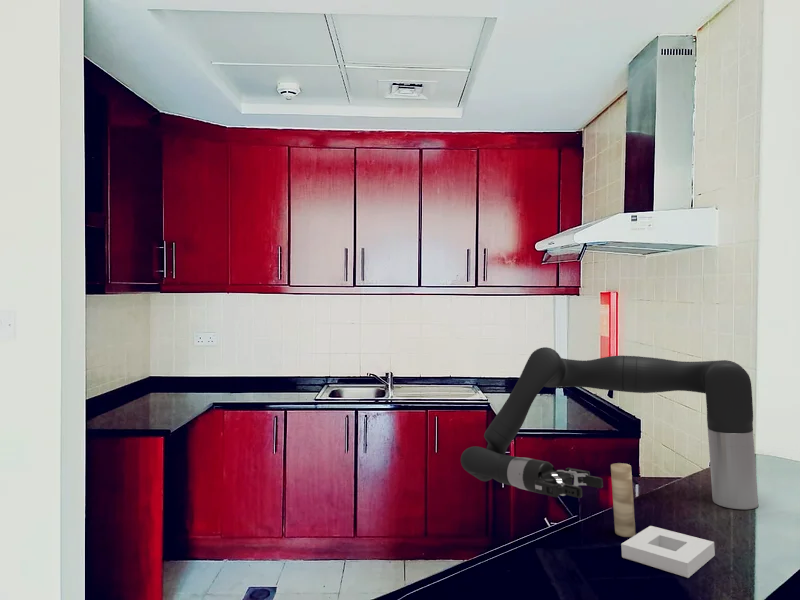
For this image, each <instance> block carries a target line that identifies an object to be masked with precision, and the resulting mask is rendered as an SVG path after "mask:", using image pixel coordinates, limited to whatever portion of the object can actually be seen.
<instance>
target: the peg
mask: <svg viewBox="0 0 800 600" xmlns="http://www.w3.org/2000/svg"><path fill="white" fill-rule="evenodd" d="M610 473H611V474H610V475H611V488H612V489H611V491H612V504H613V505H612V506H613V520H614V521H613V524H614V533H615V535H617V536H620V537H623V538H631V537H633V536H635V535H636V534H637V532H636V522H635V521H636V520H635V503H634V490H633V475H632V465H630V463H629V464H628V463H624V462H623V463H622V462H617V463H611V464H610Z"/></svg>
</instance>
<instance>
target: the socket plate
mask: <svg viewBox="0 0 800 600" xmlns="http://www.w3.org/2000/svg"><path fill="white" fill-rule="evenodd" d="M620 546H621V547H620V548H621V558H623V559H626V560H629V561H633V562H635V563H639V564H642V565H646V566H648V567H653V568H655V569H659V570H661V571H665V572H668V573H671V574H675V575H678V576H681V577H684V578H687V579H689V578H690V577H691V576H693V574H695V573H696V572H698V570H700V568H702V567H703V566H704V565H705V564H707V562H709V561H710V560H712V559H713V558H714V557H715V556H716V553H715V541H712V540H708V539H704V538H701V537H700V538H699V537H696V536H692V535H688V534H685V533H680V532H676V531H673V530H669V529H666V528H661V527H657V526H653V525H649V526H648V527H646V528H644V529H642V530H641V531H639V532H638V533H636V534H635V536H632V537H629V539H628V538H627V540H625V541H624V542H622V543H621V544H620Z"/></svg>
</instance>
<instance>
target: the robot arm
mask: <svg viewBox="0 0 800 600" xmlns="http://www.w3.org/2000/svg"><path fill="white" fill-rule="evenodd" d="M544 387H545V388H590V389H597V390H606V391H615V392H624V393H637V394H654V393H655V394H656V393H664V392H674V391H675V392H678V391H679V392H680V391H681V392H690V393H691V392H692V393H693V392H694V393H701V394H705V402H706V404H705V405H706V424H707V426H706V427H707V436H708V450H709V451H708V452H709V463H710V464H709V465H710V479H711V480H710V481H711V494H712V496H711V497H712V502H713V503H714V504H716V505H718V506H720V507H724V508H728V509H734V510H753V509H756V508H758V507H759V496H758V495H759V494H758V480H757V469H756V468H757V465H756V464H757V463H756V453H755V442H754V441H755V439H754V408H753V407H754V406H753V403H754V402H753V389H752V388H753V386H752V380H751V377H750V374H749V373H748V372H747V371H746V370H745V369H744V367H742V366H741V365H740V364H739V363H736V362H735V361H731V360H728V359H727V360H725V359H724V360H723V359H722V360H720V359H719V360H709V361H707V360H706V361H681V360H680V361H678V360H672V359H665V358H658V357H648V356H639V355H637V356H636V355H611V356H605V357H600V358H595V359H590V360H589V359H588V360H582V359H581V360H579V359H577V360H576V359H569V358H562V357H561V355H560V354H559V353H558V352H557V351H556V350H555V349H553V348H552V347H547V346H546V347H539V348H537V349H536V350H533V352H532V353H531V354H530V355H529V357H528V358H527V361H526V363H525V365H524V367H523V369H522V371H521V374H520V376H519V378H518V380H517V381H516V383H515V386H514V387H513V389H512V391H511V393H510V394H509V396H508V397H507V399H506V401H505V402H504V404H503V405H502V407H501V408H500V410H499V411H498V413H497V414H496V415H495V417H494V419H492V421H491V422H490V424H489V426H488V427H487V428H486V430H485V432H484V435H483V438H484V439H485V441H486V442H487V446H486V448H485V447H482V446H478V445H477V446H470V447H468V448H465V450H464V451H463V452H462V453H461V456H460V464H461V467H462V468H463V470H465V471H466V472H467V473H468V474H469V475H471V476H473V477H475V478H476V479H478V480H479V481H480V482H488V481H491V480H492V479H493V480H494V481H496V482H498V483H500V484H504V485H507V486H512V487H515V488H516V489H520V490H525V491H527V492H532V493H536V494H539V495H540V494H541V495H544V496H545V495H546V496H548V497H551V498H552V497H553V498H559V496H562V497H565V496H569V497H573V498H577V499H581V498H582V497H583V487H581V486H588V487H592V488H597V489H602V488H604V479H603V478H602V477H599V476H594V475H591V473H590V471H589V470H584V469H583V470H582V469H578V468H572V467H567V468H566V467H565V470H564V469H557V470H556V468H555V467H554V465H553V464H552V463H550V461H546V460H545V461H544V460H540V459H535V458H530V457H525V456H524V457H519V456H513V455H508V454H507V455H506V453H507V450H508V448H509V446H510V445H511V443H512V442H513V440H514V439H515V437H516V436H517V435H518V433H519V431H520V430H521V428H522V426H523V425H524V422H525V420H526V418H527V415H528V413H529V411H530V408H531V406H532V404H533V402H534V401H535V399H536V397H537V396H538V394H539V393H540V391H541V390H542V389H543V388H544Z"/></svg>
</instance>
